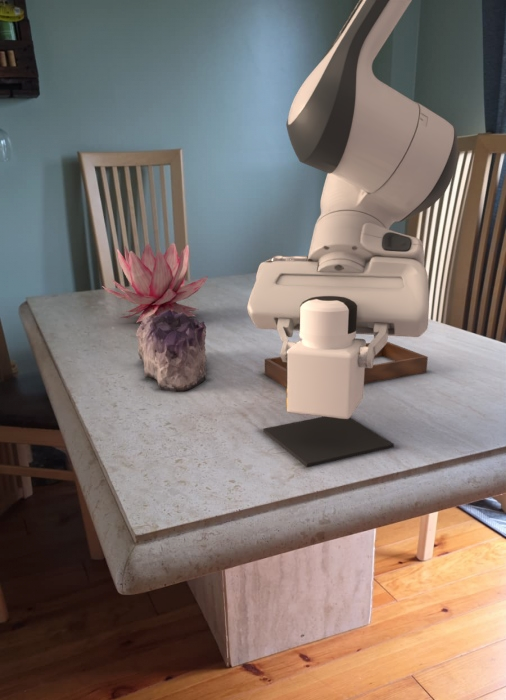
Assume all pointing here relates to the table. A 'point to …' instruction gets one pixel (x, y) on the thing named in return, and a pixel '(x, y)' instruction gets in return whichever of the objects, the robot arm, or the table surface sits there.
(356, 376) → the medicine bottle
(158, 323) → the geode
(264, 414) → the table surface
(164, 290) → the decorative flower
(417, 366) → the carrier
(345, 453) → the coaster
